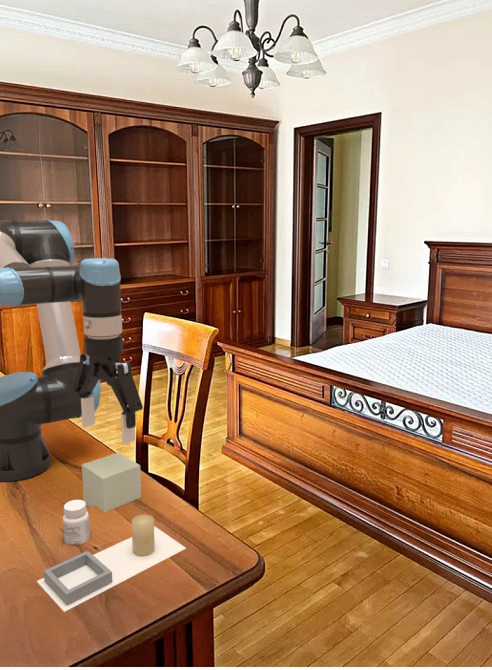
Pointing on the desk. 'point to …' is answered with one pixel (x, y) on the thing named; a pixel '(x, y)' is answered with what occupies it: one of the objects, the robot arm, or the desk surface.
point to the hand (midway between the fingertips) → (108, 433)
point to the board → (108, 565)
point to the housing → (111, 482)
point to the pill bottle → (76, 522)
